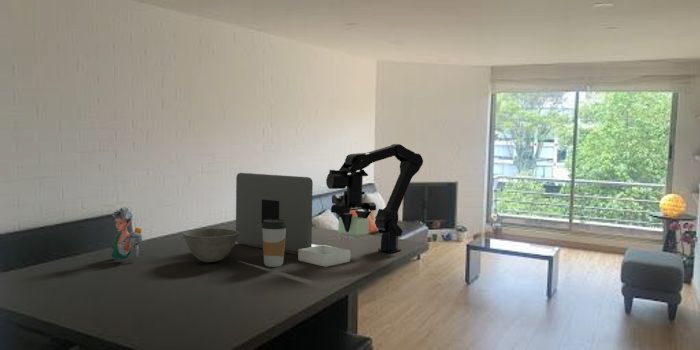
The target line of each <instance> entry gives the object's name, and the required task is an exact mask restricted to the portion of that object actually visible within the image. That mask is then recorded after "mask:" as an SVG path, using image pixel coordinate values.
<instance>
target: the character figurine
mask: <svg viewBox="0 0 700 350" xmlns="http://www.w3.org/2000/svg"><path fill="white" fill-rule="evenodd" d="M112 217H113V220H114V222H115V228H116V229H117V233H115V235H114V240H113V243H112V244H111V249H112V253H111V257H112V258H113V259H115V260H116V259H117V260H118V259H119V260H126V259H128V258H129V256H131V253H132V245H133V251H134V256H135V258H139V257H140V247H139V246H140V245H139V243H142V242H143V234H142V231H143V230H142V228H140V227H136V228H135V229H134V231H131V232H129V231H128V227H129V226H131V220H133V214H132V211H130V210H129V207H127V206H122V207H120V208H119V209H116V210H115V211H114V213H113V214H112Z"/></svg>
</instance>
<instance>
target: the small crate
mask: <svg viewBox="0 0 700 350" xmlns="http://www.w3.org/2000/svg"><path fill="white" fill-rule="evenodd" d="M369 225H370V218H360V217H358V216H353V215H352V220H351V224H350V229H349V232H346V231H345V228H344V225H343V221H342V219H341V217H340V216H339V217H338V228H337V230H338V231H337V234H339V235H343V236H344V235H345V236H350V237H354V238H360V237H365V236H369V230H370V229H369V227H370V226H369Z"/></svg>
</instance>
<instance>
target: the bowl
mask: <svg viewBox="0 0 700 350" xmlns="http://www.w3.org/2000/svg"><path fill="white" fill-rule="evenodd" d="M182 235H183V239H184V240H185V242H186V243H185V244H186V245H187V247H188V249H189V251H190V252H191V254H192V255H194V256H195V258H196V259H198V260H199V261H201V262H203V263H215V262H220V261H221V260H223V259H224V258H226V257H227V256H228V255H229V253H230V252H231V251H232V250H233V247H234V246H235V244H236V243H237V241H236V240H237V238H238V235H239V232H238V231H236V230H233V229H225V228H212V227H211V228H201V229H200V228H199V229H198V228H197V229H190V230H186V231H183V232H182Z"/></svg>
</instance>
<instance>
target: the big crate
mask: <svg viewBox="0 0 700 350" xmlns="http://www.w3.org/2000/svg"><path fill="white" fill-rule="evenodd" d="M319 245H320V244H319ZM297 260H298V261H299V262H303V263H307V264H312V265H316V266H319V267H324V268H327V267H330V266H337V265H340V264H344V263H349V262H351V249H345V248H341V247H335V246H333V245H325V244H322V245H320V246H314V247H308V248H302V249H298V255H297Z"/></svg>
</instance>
